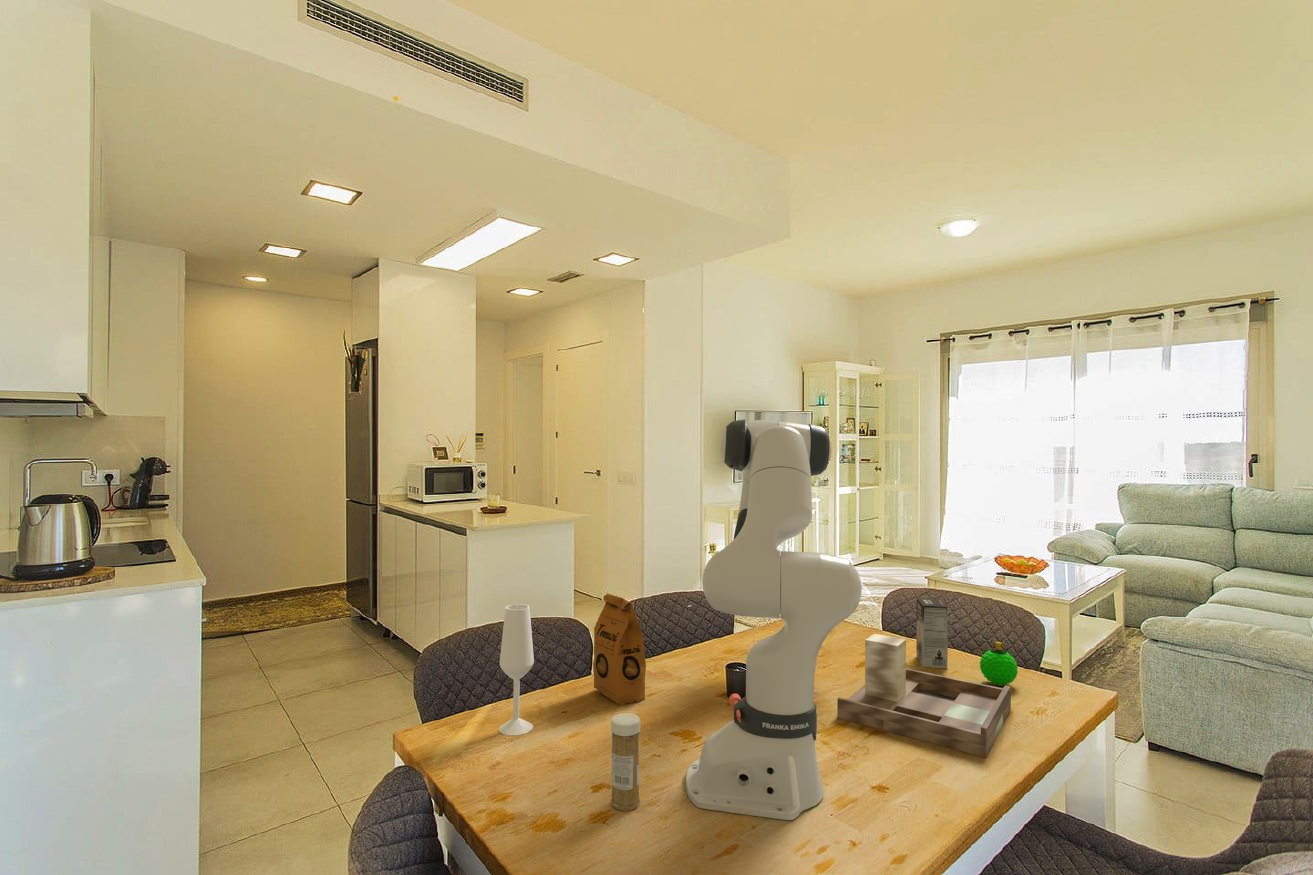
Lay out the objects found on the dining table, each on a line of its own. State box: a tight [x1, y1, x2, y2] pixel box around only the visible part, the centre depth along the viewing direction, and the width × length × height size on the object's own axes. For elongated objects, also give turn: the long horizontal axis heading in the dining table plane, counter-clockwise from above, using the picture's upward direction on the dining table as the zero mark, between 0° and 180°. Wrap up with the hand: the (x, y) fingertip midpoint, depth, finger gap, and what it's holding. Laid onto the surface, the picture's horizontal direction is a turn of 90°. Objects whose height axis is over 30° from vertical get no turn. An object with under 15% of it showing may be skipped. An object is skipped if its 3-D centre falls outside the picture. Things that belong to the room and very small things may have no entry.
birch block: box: [864, 633, 907, 702], centre depth 142 cm, size 7×6×12 cm
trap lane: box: [836, 667, 1012, 758], centre depth 137 cm, size 28×28×5 cm
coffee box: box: [915, 597, 949, 670], centre depth 169 cm, size 9×6×16 cm
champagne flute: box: [498, 603, 535, 736], centre depth 128 cm, size 7×7×24 cm
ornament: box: [979, 641, 1019, 686], centre depth 154 cm, size 8×8×10 cm
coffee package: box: [592, 592, 647, 706], centre depth 145 cm, size 10×12×22 cm
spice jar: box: [610, 712, 641, 812], centre depth 101 cm, size 5×5×14 cm
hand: (852, 607), depth 147 cm, fingers closed
